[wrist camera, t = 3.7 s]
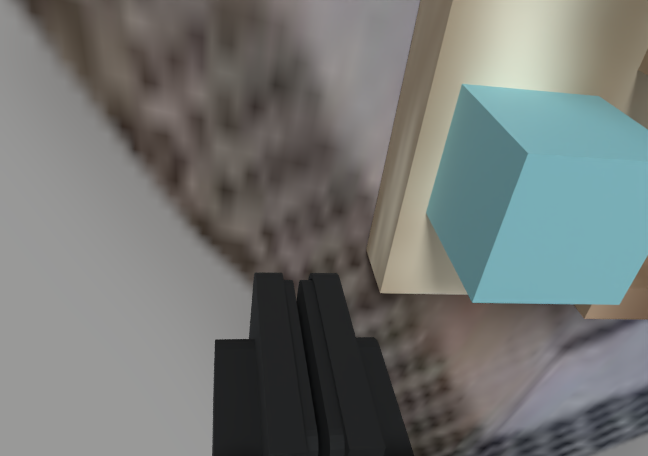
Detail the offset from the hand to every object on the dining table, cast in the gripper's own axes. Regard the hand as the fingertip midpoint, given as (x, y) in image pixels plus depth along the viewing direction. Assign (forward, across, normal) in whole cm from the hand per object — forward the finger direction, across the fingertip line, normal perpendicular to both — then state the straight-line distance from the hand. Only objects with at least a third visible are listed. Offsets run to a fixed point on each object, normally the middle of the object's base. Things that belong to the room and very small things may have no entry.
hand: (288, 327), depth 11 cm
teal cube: (+8, -9, 0) cm, 12 cm away
